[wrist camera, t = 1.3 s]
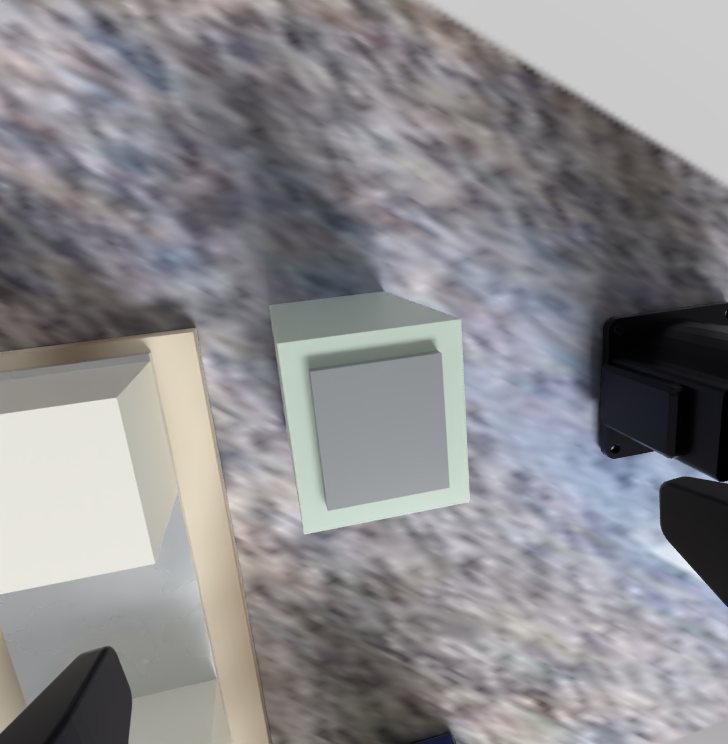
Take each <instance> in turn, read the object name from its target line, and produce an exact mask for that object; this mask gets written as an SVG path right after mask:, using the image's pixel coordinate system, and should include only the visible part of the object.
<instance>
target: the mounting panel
mask: <svg viewBox="0 0 728 744" xmlns="http://www.w3.org/2000/svg"><path fill="white" fill-rule="evenodd" d="M144 352H151V353H152V358H153V363H154V367H155V372H156V377H157V382H158V387H159V391H160V396H161V401H162V406H163V411H164V415H165V420H166V425H167V430H168V435H169V439H170V444H171V449H172V454H173V459H174V464H175V468H176V473H177V478H178V483H179V488H180V492H181V497H182V502H183V507H184V512H185V516H186V521H187V526H188V531H189V536H190V540H191V545H192V550H193V555H194V560H195V564H196V569H197V574H198V579H199V584H200V588H201V593H202V598H203V603H204V608H205V612H206V617H207V622H208V627H209V632H210V636H211V641H212V646H213V651H214V656H215V660H216V665H217V670H218V675H219V680H220V684H221V689H222V694H223V699H224V704H225V709H226V713H227V718H228V723H229V728H230V733H231V737H232V742H233V744H272V740H271V735H270V729H269V724H268V719H267V713H266V708H265V702H264V697H263V691H262V686H261V680H260V675H259V669H258V664H257V658H256V653H255V648H254V642H253V637H252V631H251V626H250V620H249V615H248V609H247V604H246V598H245V593H244V587H243V582H242V576H241V571H240V566H239V560H238V555H237V549H236V544H235V538H234V533H233V527H232V522H231V516H230V511H229V505H228V500H227V495H226V489H225V484H224V478H223V473H222V467H221V462H220V456H219V451H218V445H217V440H216V434H215V429H214V424H213V418H212V413H211V407H210V402H209V396H208V391H207V385H206V380H205V374H204V369H203V363H202V358H201V352H200V347H199V342H198V336H197V331H196V328H189V329H181V330H173V331H165V332H157V333H149V334H141V335H133V336H125V337H117V338H109V339H101V340H93V341H85V342H77V343H69V344H60V345H52V346H44V347H36V348H28V349H20V350H12V351H4V352H0V371H6V370H13V369H21V368H29V367H36V366H44V365H52V364H59V363H67V362H75V361H82V360H90V359H98V358H105V357H113V356H121V355H128V354H136V353H144ZM26 707H27V705H26V702H25V699H24V696H23V693H22V690H21V687H20V684H19V681H18V678H17V675H16V672H15V669H14V666H13V663H12V660H11V657H10V654H9V651H8V648H7V645H6V642H5V639H4V636H3V633H2V630H1V627H0V733H1V732H2V731H3V730H4V729H5V728H6V727H7V726H8V725H9V724H10V723H11V722H12V721H13V720H14V719H15V718H16V717H17V716H18V715H19V714H20V713H21V712H22V711H23V710H24V709H25V708H26Z"/></svg>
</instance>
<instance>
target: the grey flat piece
mask: <svg viewBox="0 0 728 744" xmlns="http://www.w3.org/2000/svg"><path fill="white" fill-rule="evenodd" d="M146 361H151V366H152V371H153V376H154V380H155V385H156V390H157V395H158V399H159V404H160V409H161V414H162V419H163V423H164V428H165V433H166V438H167V442H168V447H169V452H170V457H171V461H172V466H173V471H174V476H175V481H176V485H177V490H178V493H177V497H176V500H175V503H174V506H173V509H172V512H171V515H170V519H169V522H168V525H167V528H166V531H165V534H164V538H163V541H162V544H161V547H160V550H159V553H158V557H157V560H156V563H155V564H152V565H147V566H142V567H136V568H131V569H126V570H121V571H116V572H111V573H106V574H101V575H96V576H91V577H86V578H81V579H76V580H71V581H65V582H60V583H55V584H50V585H45V586H40V587H35V588H30V589H25V590H20V591H15V592H10V593H5V594H0V627H1V630H2V633H3V636H4V639H5V642H6V645H7V648H8V651H9V654H10V657H11V660H12V663H13V666H14V669H15V672H16V675H17V678H18V681H19V684H20V687H21V690H22V693H23V696H24V699H25V702H26V705H27V706H28V705H29V704H30V703H31V702H32V701H33V700H34V699H35V698H36V697H37V696H38V695H39V694H40V693H41V692H42V691H43V690H44V689H45V688H46V687H47V686H48V685H49V684H50V683H51V682H52V681H53V680H54V679H55V678H56V677H57V676H58V675H59V674H60V673H61V672H62V671H63V670H64V669H65V668H66V667H67V666H68V665H69V664H70V663H71V662H72V661H73V660H74V659H75V658H76V657H77V656H78V655H80V654H81V653H83V652H86V651H89V650H93V649H96V648H100V647H103V646H111V647H113V648H114V650H115V651H116V653H117V655H118V658H119V660H120V663H121V665H122V668H123V671H124V673H125V676H126V678H127V681H128V683H129V686H130V689H131V694H132V699H134V698H138V697H142V696H147V695H151V694H155V693H159V692H163V691H168V690H172V689H176V688H180V687H184V686H189V685H193V684H197V683H201V682H205V681H210V680H214V679H217V681H218V686H219V691H220V695H221V700H222V705H223V710H224V714H225V719H226V724H227V729H228V734H229V738H230V743H231V744H233V742H232V737H231V733H230V728H229V723H228V718H227V713H226V709H225V704H224V699H223V694H222V689H221V684H220V680H219V675H218V670H217V665H216V660H215V656H214V651H213V646H212V641H211V636H210V632H209V627H208V622H207V617H206V612H205V608H204V603H203V598H202V593H201V588H200V584H199V579H198V574H197V569H196V564H195V560H194V555H193V550H192V545H191V540H190V536H189V531H188V526H187V521H186V516H185V512H184V507H183V502H182V497H181V492H180V488H179V483H178V478H177V473H176V468H175V464H174V459H173V454H172V449H171V444H170V439H169V435H168V430H167V425H166V420H165V415H164V411H163V406H162V401H161V396H160V391H159V387H158V382H157V377H156V372H155V367H154V363H153V358H152V353H151V352H144V353H136V354H128V355H121V356H113V357H105V358H98V359H90V360H82V361H75V362H67V363H59V364H52V365H44V366H36V367H29V368H21V369H13V370H6V371H0V381H3V380H11V379H18V378H26V377H33V376H41V375H48V374H56V373H63V372H71V371H78V370H86V369H93V368H101V367H108V366H116V365H123V364H131V363H138V362H146Z"/></svg>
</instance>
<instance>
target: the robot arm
mask: <svg viewBox="0 0 728 744" xmlns="http://www.w3.org/2000/svg"><path fill="white" fill-rule="evenodd" d="M726 310H727V313H726V315H725V312H726ZM617 325H618V326H619V328H618V331H617V332H616V333H615V332H614V329H615V327H616V326H617ZM600 421H601V446H600V447H601V451H602V453H603V454H605V455H606V456H608V457H610V458H612V459H616V458H622V457H627V456H632V455H637V454H642V453H648V452H653V451H656V452H658V453H660V454H662V455H663V456H665V457H667V458H674V459H676V460H678V461H680V462H682V463H684V464H686V465H688V466H690V467H692V468H694V469H696V470H698V471H700V472H702V473H704V474H706V475H708V476H710V477H712V478H713V479H715V480H717V481H719V482H716V481H710V480H704V479H699V478H693V477H679V478H676V479H673V480H669V481H666V482H664V483H663V484H662V485H661V487H660V490H659V498H660V525H661V529H662V532H663V534H664V536H665V537H666V539H667V540H668V541H669V542H670V544H671V545H672V546H673V547H674V548H675V549H676V550H677V551H678V553H679V554H680V555H681V556H682V557H683V558H684V559H685V560H686V561H687V563H688V564H689V565H690V566H691V567H692V568H693V569H694V570H695V571H696V573H697V574H698V575H699V576H700V577H701V578H702V579H703V580H704V582H705V583H706V584H707V585H708V586H709V587H710V588H711V589H712V590H713V592H714V593H715V594H716V595H717V596H718V597H719V598H720V599H721V600H722V602H723V603H724V604H725V605H726V606H727V607H728V484H727V483H721V482H725V481H728V302H717V303H709V304H702V305H695V306H688V307H681V308H674V309H667V310H659V311H652V312H645V313H638V314H631V315H624V316H617V317H612V318H610V319H608V320H607V321H606V323H605V324H604V328H603V357H602V371H601V410H600ZM613 444H615V447H614V448H613V449H612V450H611V447H612V446H613ZM131 713H132V694H131V689H130V686H129V683H128V681H127V678H126V676H125V673H124V671H123V668H122V665H121V663H120V660H119V658H118V655H117V653H116V651H115V650H114V648H113V647H111V646H103V647H100V648H96V649H93V650H89V651H86V652H83V653H81V654H80V655H78V656H77V657H76V658H75V659H74V660H73V661H72V662H71V663H70V664H69V665H68V666H67V667H66V668H65V669H64V670H63V671H62V672H61V673H60V674H59V675H58V676H57V677H56V678H55V679H54V680H53V681H52V682H51V683H50V684H49V685H48V686H47V687H46V688H45V689H44V690H43V691H42V692H41V693H40V694H39V695H38V696H37V697H36V698H35V699H34V700H33V701H32V702H31V703H30V704H29V705H28V706H27V707H26V708H25V709H24V710H23V711H22V712H21V713H20V714H19V715H18V716H17V717H16V718H15V719H14V720H13V721H12V722H11V723H10V724H9V725H8V726H7V727H6V728H5V729H4V730H3V731H2V732H1V733H0V744H128V741H129V731H130V722H131Z"/></svg>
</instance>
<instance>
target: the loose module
mask: <svg viewBox="0 0 728 744" xmlns="http://www.w3.org/2000/svg"><path fill="white" fill-rule="evenodd" d="M269 311H270V318H271V325H272V332H273V339H274V346H275V353H276V360H277V366H278V373H279V380H280V387H281V394H282V401H283V408H284V415H285V422H286V429H287V435H288V441H289V447H290V452H291V458H292V464H293V470H294V476H295V482H296V488H297V494H298V500H299V506H300V512H301V518H302V524H303V530H304V534H309V533H314V532H319V531H324V530H330V529H335V528H340V527H345V526H350V525H355V524H360V523H365V522H370V521H375V520H380V519H385V518H390V517H395V516H400V515H405V514H411V513H416V512H421V511H426V510H431V509H436V508H441V507H446V506H451V505H456V504H461V503H466V502H470V495H469V475H468V454H467V433H466V412H465V392H464V371H463V350H462V330H461V319H459V318H456V317H454V316H451V315H448V314H445V313H443V312H440V311H437V310H434V309H432V308H429V307H426V306H423V305H421V304H418V303H415V302H412V301H409V300H407V299H404V298H401V297H398V296H396V295H393V294H390V293H387V292H385V291H381V292H373V293H365V294H357V295H348V296H340V297H332V298H323V299H315V300H307V301H298V302H290V303H282V304H273V305H269Z"/></svg>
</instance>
